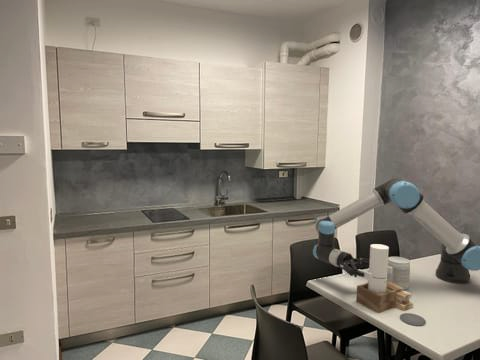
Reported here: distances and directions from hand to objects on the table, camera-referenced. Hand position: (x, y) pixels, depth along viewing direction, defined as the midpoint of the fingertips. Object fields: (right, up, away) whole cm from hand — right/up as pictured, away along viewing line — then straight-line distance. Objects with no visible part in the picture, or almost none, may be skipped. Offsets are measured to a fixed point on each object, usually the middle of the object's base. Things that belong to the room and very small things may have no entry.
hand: (382, 274), depth 147 cm
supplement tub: (+14, -12, +17) cm, 25 cm away
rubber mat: (+8, -15, -10) cm, 20 cm away
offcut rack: (+2, -14, +3) cm, 14 cm away
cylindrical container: (-1, -14, +3) cm, 14 cm away
